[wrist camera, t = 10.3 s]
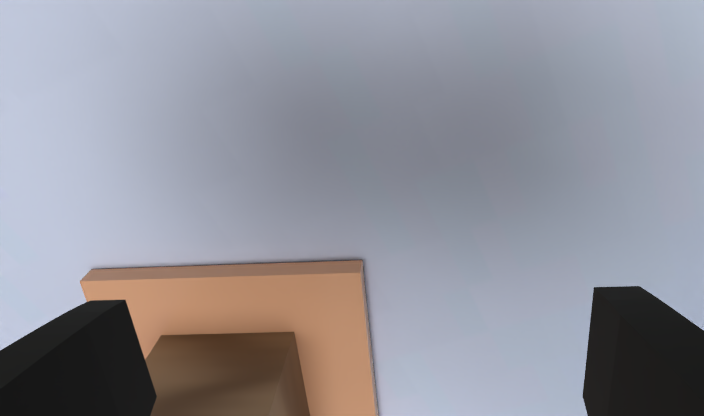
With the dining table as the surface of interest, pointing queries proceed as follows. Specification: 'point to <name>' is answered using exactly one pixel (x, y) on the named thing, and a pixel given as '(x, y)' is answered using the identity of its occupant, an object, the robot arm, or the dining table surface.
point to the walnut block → (227, 375)
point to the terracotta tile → (261, 317)
